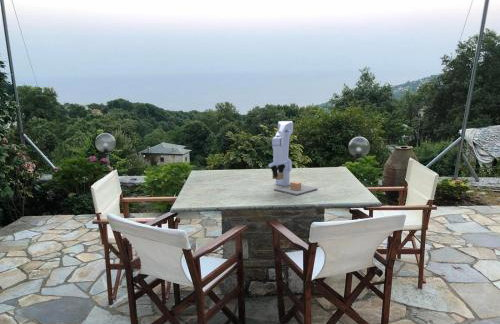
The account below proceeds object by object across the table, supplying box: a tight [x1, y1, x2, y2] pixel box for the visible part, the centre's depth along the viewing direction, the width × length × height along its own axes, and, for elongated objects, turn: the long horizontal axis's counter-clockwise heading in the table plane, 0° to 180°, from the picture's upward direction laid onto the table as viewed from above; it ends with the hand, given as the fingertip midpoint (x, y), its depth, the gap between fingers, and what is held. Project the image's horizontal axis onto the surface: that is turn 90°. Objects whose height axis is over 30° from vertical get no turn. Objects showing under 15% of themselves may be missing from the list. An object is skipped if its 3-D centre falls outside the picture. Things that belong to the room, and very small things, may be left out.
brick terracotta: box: [290, 180, 302, 190], centre depth 256 cm, size 6×4×4 cm, turn 41°
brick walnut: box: [272, 171, 283, 180], centre depth 255 cm, size 6×4×4 cm, turn 40°
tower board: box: [273, 184, 318, 196], centre depth 257 cm, size 20×20×1 cm
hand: (277, 176), depth 255 cm, fingers closed on brick walnut, 4 cm apart
